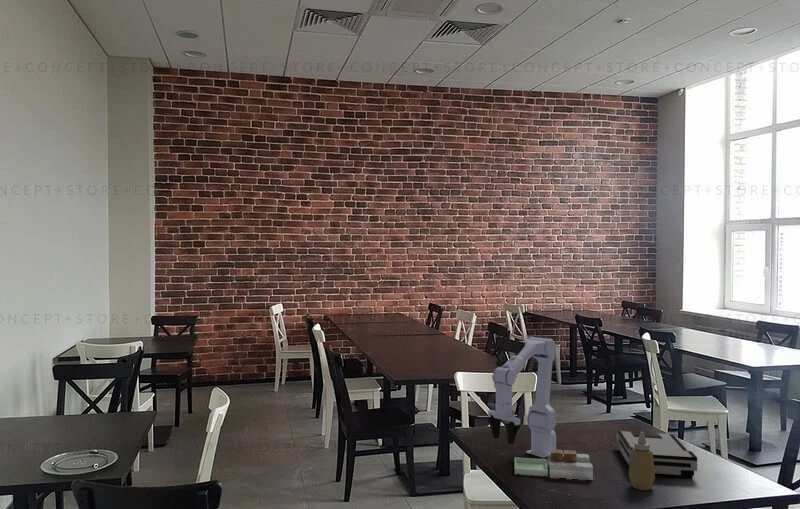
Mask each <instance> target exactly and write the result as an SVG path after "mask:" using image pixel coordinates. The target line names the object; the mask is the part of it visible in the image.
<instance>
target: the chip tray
mask: <svg viewBox="0 0 800 509" xmlns="http://www.w3.org/2000/svg"><path fill="white" fill-rule="evenodd" d="M517 474H519V475H520V476H531V475H532V476H533V477H534V476H535V477H544V476H545V478H546V477H547V478H549V470H548V459H546V458H534V457H533V458H532V457H531V458H530V457H518V456H517V457H516V456H514V475H517Z"/></svg>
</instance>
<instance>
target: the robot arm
mask: <svg viewBox="0 0 800 509" xmlns="http://www.w3.org/2000/svg"><path fill="white" fill-rule="evenodd" d="M556 348H557V345H556V343H555V341H554V339H552V338H545V337H544V338H543V337H537V336H528V337H527V338H526V340H525V342H524V347H523V348H522V349H521V351H519V353H518V354H517V355H511V356H510V358H509V359H508V360H507V361H506V362H505V363H504V364H503V365H501V366H498V367H496V368H495V369H494V371H493V372H492V373H493V374H492V376H491V379H492V382H493V385H494V389H495V410H494V409H491V410H487V416H488V417H487V419H486V420H487V422H488V425H489V426H490V430H491V434H492V437H493V438H492V439H500V434H501V424H502V422H506V423H505V424H504V426H505V429H506V434H507V444H508V445H514V443H515V440H516V437H517V434H518V431H519V430H520V428H521V427H522V426H521V424H522V423H521V418H518V417H517V416H515V415H514V414H513V385H514V384H515V382H516V379H517V378H518V375H519V373H520V372H521V371H523V369H524V368H525V363H526V362H527V361H528V360H530V359H531V358H532V357H533V358H534V359H535V360H536V361H537V363H538V364H537V376H536V377H537V378H536V386H535V387H536V388H535V400H534V401H535V402H534V404H532V405H530V406H529V408H528V411H527V412H528V413H527V416H526V424H527V426H528V427H529V429H530V430H531V432H530V433H531V434H530V435H531V436H530V438H531V439H530V440H531V444H530V445H531V446H530V447H531V448H530V449H529V450H526V451H525V452H526V453H527V454H530V455H533V456H536V457H538V458H541V459H545V458H548V452H550V450H551V449H556V450H557V434H556V432H555V429H556V426H557V419H556V418H557V417H556V410H555V409H554V408H553V407H552V406H551V405H550V398H551V397H550V396H551V384H552V383H551V382H552V370H553V362H554V361H555V358H556V350H557V349H556ZM507 422H508V423H507Z"/></svg>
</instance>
